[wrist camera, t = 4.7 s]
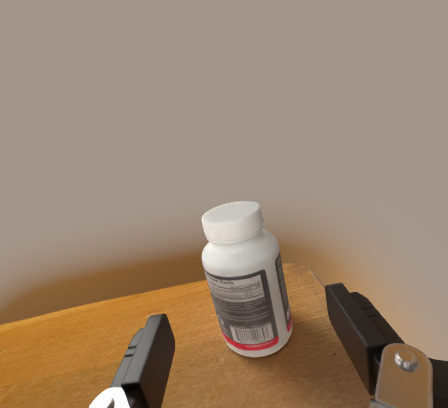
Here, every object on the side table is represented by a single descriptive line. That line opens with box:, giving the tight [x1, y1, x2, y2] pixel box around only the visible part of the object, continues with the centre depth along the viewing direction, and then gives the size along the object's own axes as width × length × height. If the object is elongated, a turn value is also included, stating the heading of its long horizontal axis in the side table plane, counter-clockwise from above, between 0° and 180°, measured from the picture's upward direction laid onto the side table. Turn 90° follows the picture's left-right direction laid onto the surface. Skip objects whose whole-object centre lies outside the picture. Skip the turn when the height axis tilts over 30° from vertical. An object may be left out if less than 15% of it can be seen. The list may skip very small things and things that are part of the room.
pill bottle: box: [202, 201, 292, 357], centre depth 18 cm, size 5×5×10 cm
